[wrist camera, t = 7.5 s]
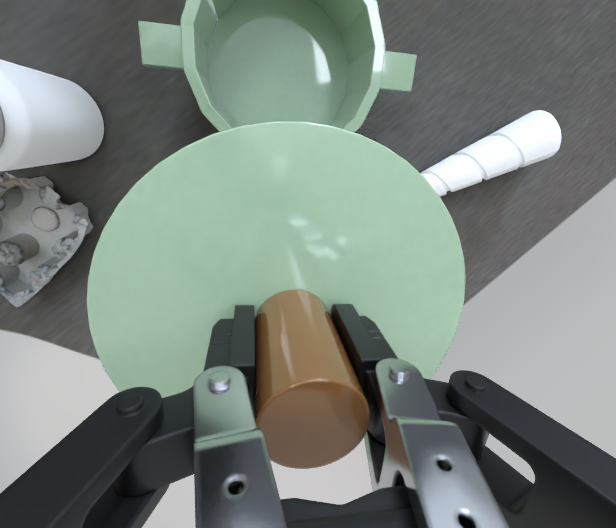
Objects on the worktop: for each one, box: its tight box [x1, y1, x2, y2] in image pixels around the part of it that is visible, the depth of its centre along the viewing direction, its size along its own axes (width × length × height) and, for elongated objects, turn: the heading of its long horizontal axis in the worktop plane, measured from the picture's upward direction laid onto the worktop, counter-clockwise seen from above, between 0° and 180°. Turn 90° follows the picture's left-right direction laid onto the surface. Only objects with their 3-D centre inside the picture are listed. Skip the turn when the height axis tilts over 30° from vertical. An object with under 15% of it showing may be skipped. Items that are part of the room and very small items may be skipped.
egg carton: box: [0, 172, 93, 307], centre depth 29 cm, size 11×8×4 cm
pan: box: [138, 0, 417, 132], centre depth 25 cm, size 14×19×8 cm
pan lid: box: [87, 121, 465, 469], centre depth 11 cm, size 15×15×6 cm
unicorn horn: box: [420, 110, 561, 196], centre depth 32 cm, size 5×24×5 cm, turn 111°
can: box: [0, 60, 104, 172], centre depth 22 cm, size 6×6×12 cm
